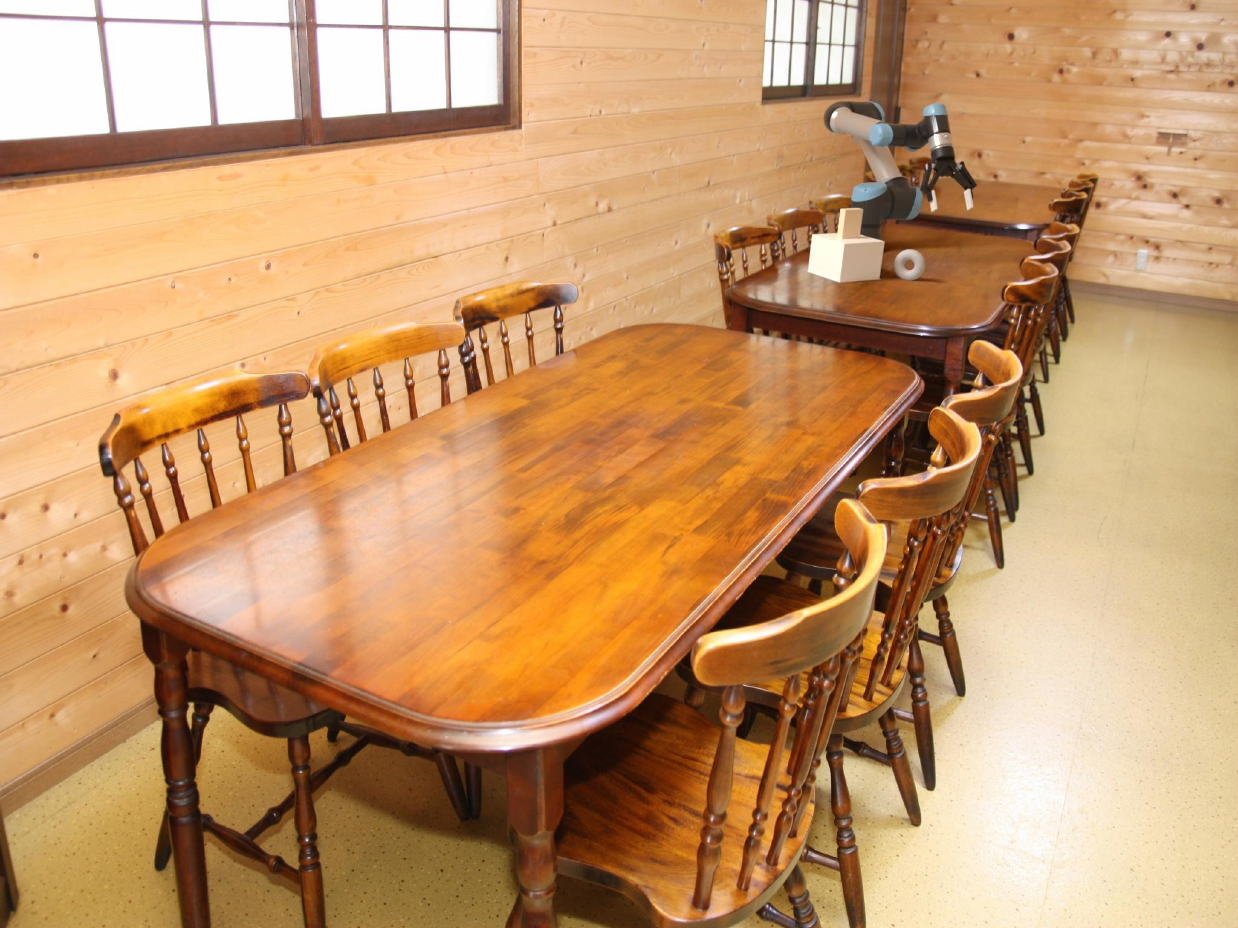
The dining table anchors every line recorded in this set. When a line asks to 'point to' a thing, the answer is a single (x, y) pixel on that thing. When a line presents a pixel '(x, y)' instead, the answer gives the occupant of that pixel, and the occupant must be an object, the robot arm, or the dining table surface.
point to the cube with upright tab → (846, 251)
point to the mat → (840, 282)
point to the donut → (918, 264)
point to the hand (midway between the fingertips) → (952, 209)
